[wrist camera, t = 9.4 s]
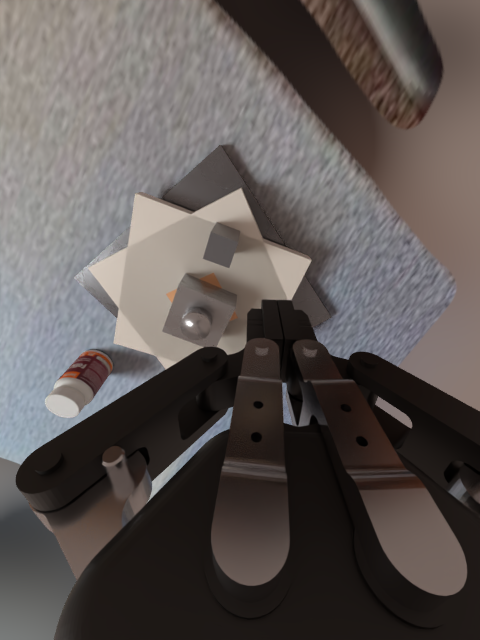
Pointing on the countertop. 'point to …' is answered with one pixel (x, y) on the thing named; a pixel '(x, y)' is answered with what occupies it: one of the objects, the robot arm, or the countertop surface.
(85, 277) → the base
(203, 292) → the cover
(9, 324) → the countertop surface
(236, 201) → the turntable
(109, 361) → the pill bottle
